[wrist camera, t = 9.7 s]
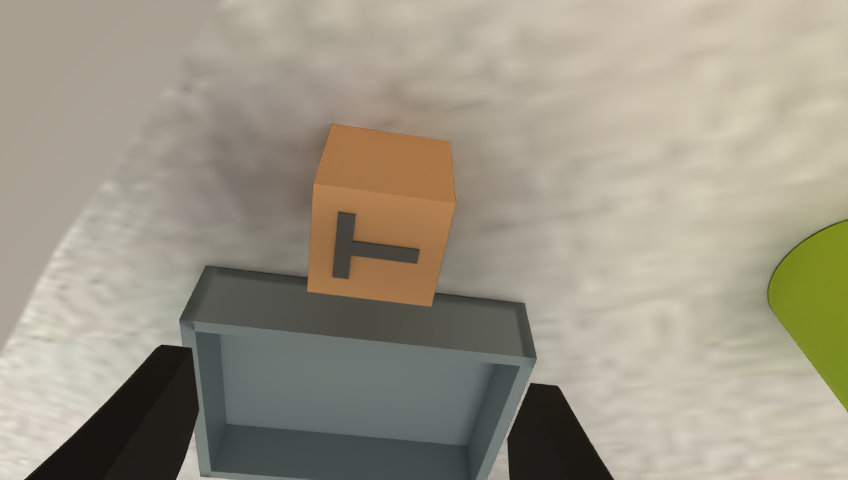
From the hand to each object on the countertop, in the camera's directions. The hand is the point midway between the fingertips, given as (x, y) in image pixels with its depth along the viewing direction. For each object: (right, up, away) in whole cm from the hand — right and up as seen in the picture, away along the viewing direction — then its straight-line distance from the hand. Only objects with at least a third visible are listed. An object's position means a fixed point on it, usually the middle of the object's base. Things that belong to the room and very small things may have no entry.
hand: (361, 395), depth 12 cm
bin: (-2, -2, +13) cm, 14 cm away
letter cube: (0, +5, +8) cm, 10 cm away
